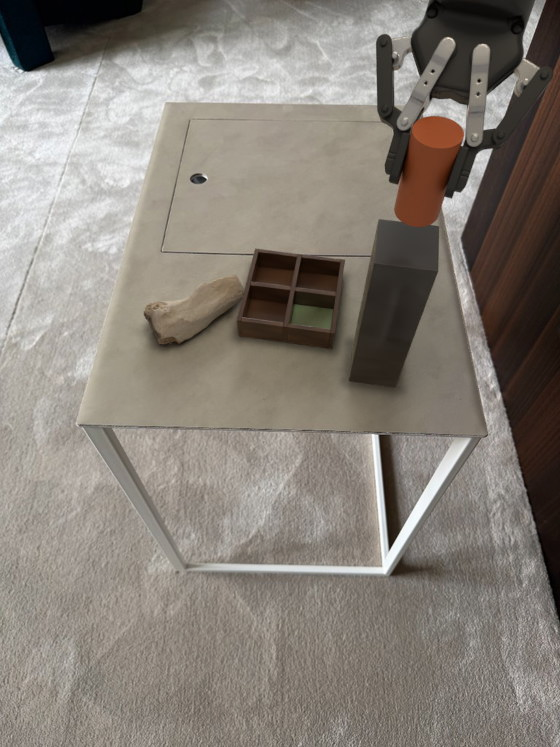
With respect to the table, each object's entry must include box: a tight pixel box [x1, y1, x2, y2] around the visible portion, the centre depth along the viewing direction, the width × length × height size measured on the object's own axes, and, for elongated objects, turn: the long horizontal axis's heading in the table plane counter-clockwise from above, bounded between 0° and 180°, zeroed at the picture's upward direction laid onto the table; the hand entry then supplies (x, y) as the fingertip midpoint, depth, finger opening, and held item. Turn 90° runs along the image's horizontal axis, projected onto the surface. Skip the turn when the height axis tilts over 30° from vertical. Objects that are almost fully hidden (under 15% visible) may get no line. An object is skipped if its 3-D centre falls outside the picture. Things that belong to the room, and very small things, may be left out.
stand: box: [348, 218, 440, 388], centre depth 62 cm, size 6×6×22 cm
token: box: [393, 115, 465, 227], centre depth 45 cm, size 4×4×8 cm
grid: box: [236, 247, 346, 350], centre depth 75 cm, size 13×13×4 cm
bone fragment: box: [143, 274, 245, 345], centre depth 73 cm, size 14×6×5 cm, turn 119°
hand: (421, 188), depth 44 cm, fingers closed on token, 4 cm apart
